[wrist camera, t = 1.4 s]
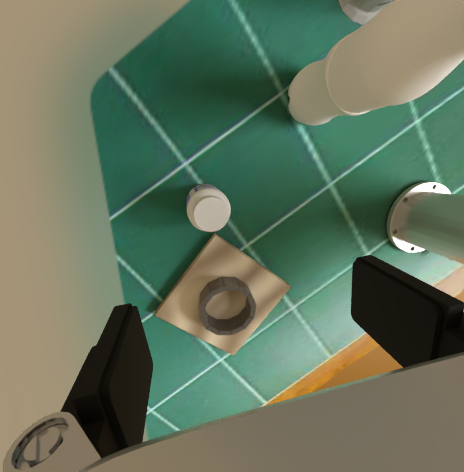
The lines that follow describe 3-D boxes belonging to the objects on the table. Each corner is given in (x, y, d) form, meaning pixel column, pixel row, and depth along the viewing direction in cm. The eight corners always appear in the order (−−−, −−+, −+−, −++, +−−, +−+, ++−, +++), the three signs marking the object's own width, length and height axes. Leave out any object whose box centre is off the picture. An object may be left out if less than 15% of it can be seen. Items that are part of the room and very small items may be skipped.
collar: (261, 293, 41) (266, 303, 39) (230, 331, 43) (233, 343, 40) (220, 267, 39) (223, 275, 36) (188, 308, 40) (188, 319, 37)
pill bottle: (207, 226, 38) (214, 248, 29) (178, 203, 36) (176, 219, 27) (230, 199, 37) (245, 212, 28) (202, 175, 36) (208, 180, 27)
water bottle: (276, 121, 35) (458, 49, 12) (288, 64, 33) (533, -156, 10) (321, 132, 37) (560, 87, 13) (335, 78, 35) (641, -84, 12)
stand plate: (287, 282, 44) (290, 287, 42) (232, 349, 46) (233, 355, 44) (214, 232, 38) (215, 235, 37) (155, 310, 41) (154, 315, 39)
